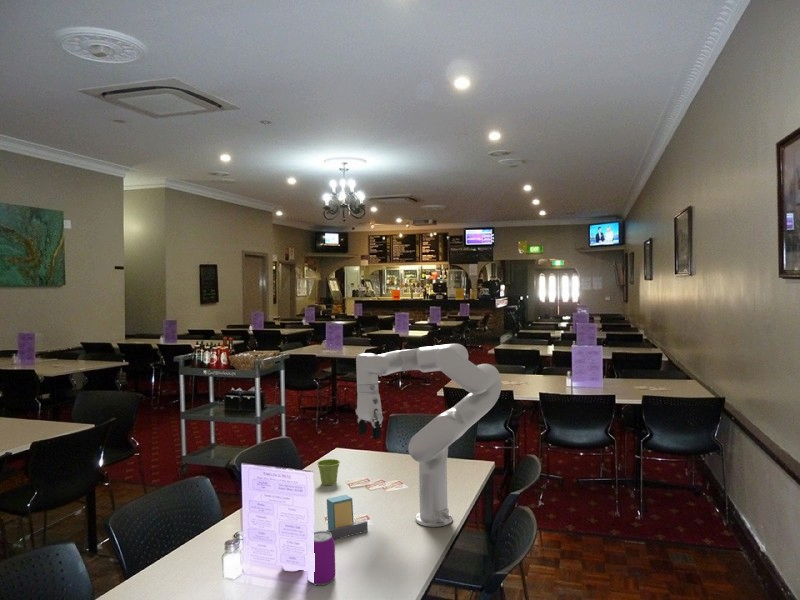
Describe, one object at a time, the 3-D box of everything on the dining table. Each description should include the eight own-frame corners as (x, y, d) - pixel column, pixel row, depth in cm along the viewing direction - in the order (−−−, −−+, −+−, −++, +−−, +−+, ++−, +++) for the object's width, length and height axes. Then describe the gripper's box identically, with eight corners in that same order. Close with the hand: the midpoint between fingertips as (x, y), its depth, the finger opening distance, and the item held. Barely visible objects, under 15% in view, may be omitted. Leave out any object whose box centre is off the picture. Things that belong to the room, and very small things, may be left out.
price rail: (367, 530, 188) (367, 521, 188) (327, 541, 181) (327, 531, 181) (362, 527, 191) (362, 518, 191) (323, 537, 184) (323, 527, 184)
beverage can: (301, 581, 156) (300, 537, 155) (320, 570, 162) (319, 527, 162) (322, 589, 151) (321, 544, 151) (341, 577, 158) (340, 533, 157)
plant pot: (312, 483, 236) (312, 462, 236) (331, 478, 242) (331, 457, 242) (325, 488, 229) (325, 467, 229) (345, 483, 235) (344, 462, 235)
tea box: (328, 529, 190) (326, 498, 190) (347, 524, 193) (345, 494, 193) (334, 533, 185) (332, 502, 186) (354, 529, 189) (352, 498, 189)
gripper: (389, 389, 200) (391, 438, 200) (364, 384, 214) (366, 430, 214) (371, 392, 195) (373, 442, 195) (346, 386, 210) (348, 433, 210)
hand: (369, 436), depth 205 cm, fingers open, 9 cm apart
